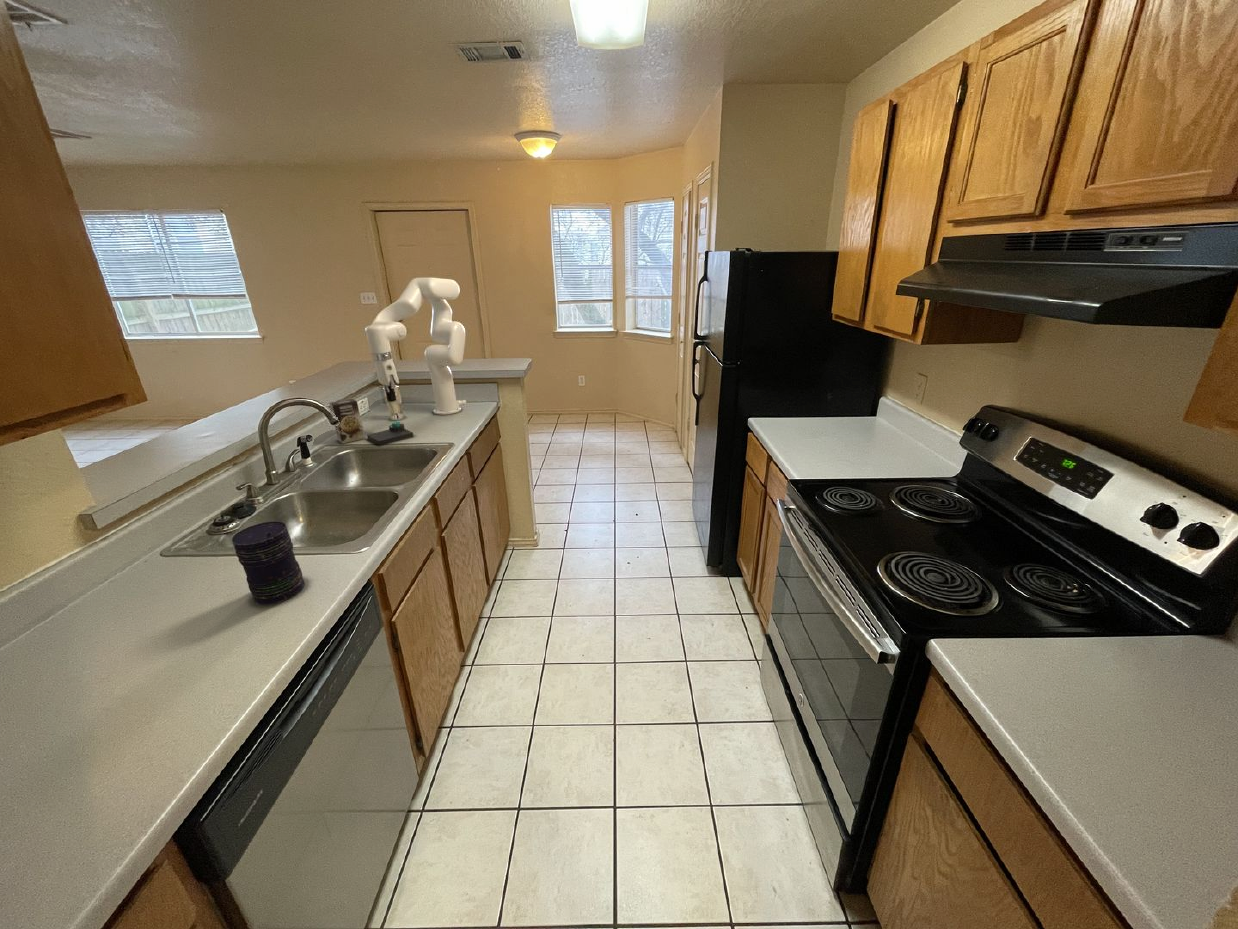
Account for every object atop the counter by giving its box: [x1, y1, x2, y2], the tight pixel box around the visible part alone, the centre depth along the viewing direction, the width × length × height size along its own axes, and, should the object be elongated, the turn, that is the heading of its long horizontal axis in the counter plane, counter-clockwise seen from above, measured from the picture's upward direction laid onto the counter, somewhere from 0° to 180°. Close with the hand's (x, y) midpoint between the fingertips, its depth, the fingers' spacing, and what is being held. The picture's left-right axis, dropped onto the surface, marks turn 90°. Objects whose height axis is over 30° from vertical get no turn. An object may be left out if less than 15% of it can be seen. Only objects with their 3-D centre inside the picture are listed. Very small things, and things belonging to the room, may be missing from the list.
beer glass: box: [382, 384, 405, 421], centre depth 232 cm, size 7×7×15 cm
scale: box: [366, 423, 414, 446], centre depth 209 cm, size 14×12×4 cm
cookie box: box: [329, 398, 366, 444], centre depth 206 cm, size 9×6×16 cm
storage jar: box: [231, 520, 306, 606], centre depth 109 cm, size 10×10×15 cm
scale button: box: [391, 421, 401, 427], centre depth 213 cm, size 3×3×2 cm
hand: (392, 400), depth 210 cm, fingers closed
